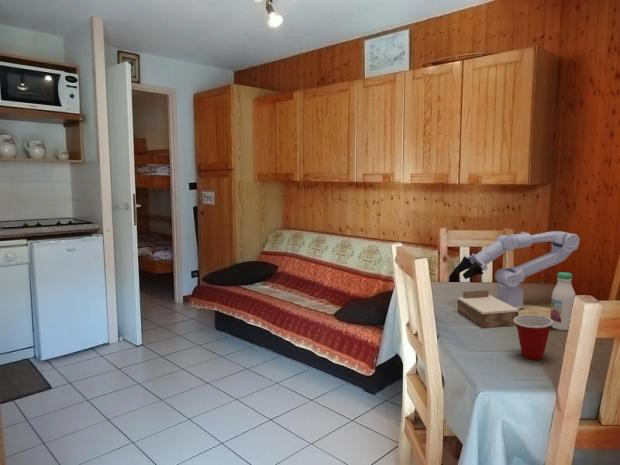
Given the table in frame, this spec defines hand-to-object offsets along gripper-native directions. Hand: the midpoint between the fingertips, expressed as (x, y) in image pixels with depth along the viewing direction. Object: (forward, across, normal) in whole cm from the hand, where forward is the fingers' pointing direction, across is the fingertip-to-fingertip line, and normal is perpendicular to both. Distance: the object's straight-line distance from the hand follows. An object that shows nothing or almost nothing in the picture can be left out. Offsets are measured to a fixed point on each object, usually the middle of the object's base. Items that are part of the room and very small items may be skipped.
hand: (459, 274), depth 184 cm
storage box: (+3, +13, +15) cm, 20 cm away
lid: (0, +13, +10) cm, 17 cm away
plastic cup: (+5, +50, +11) cm, 51 cm away
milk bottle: (-15, +28, +26) cm, 41 cm away
